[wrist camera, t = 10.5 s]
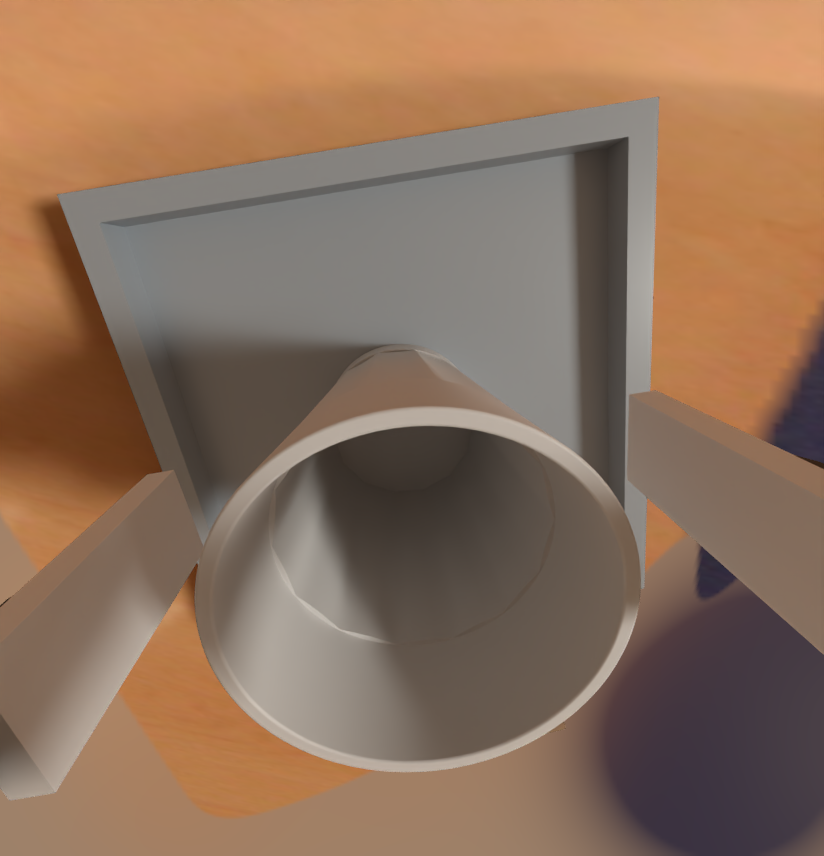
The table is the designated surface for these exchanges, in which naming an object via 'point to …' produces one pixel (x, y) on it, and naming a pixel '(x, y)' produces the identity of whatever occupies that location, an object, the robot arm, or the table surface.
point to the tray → (385, 285)
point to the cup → (416, 575)
